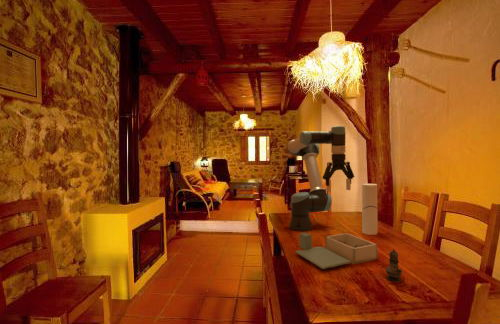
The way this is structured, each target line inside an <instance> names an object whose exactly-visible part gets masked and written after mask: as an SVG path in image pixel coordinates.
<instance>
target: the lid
mask: <svg viewBox="0 0 500 324" xmlns="http://www.w3.org/2000/svg"><path fill="white" fill-rule="evenodd" d="M298 236H299V248H300V249H299V250H298V249H297V250H296V251H295V253H296V255H297V254H298V255H299V256H301V257H302V258H303V259H305V260H307V261H309V262H310V263H311V264H314V265H315V266H317V267H319V268H320V269H322V270H325V269H328V268H336V267H339V266H343V265H347V264H351V263H350V261H349V260H347V259H345V258H343V257H341V256H339V255H337V254H335V253H333V252H331V251H329V250H327V249H325V247H323V246H321V245H319V246H315V247H313V246H312V245H313V240H312V239H313V237H312V236H313V235H312V234H309V233H307V232H300V233H299V235H298Z"/></svg>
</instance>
